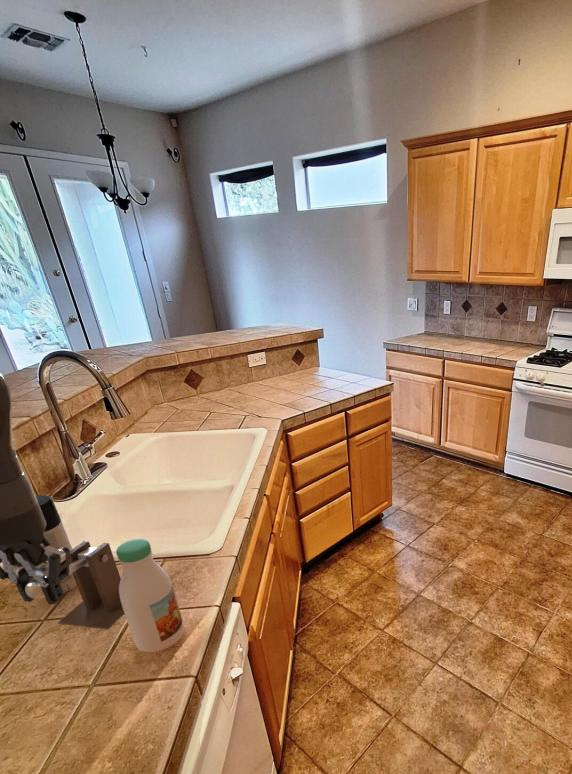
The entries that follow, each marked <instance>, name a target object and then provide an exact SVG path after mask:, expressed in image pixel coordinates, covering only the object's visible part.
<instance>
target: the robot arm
mask: <svg viewBox="0 0 572 774" xmlns="http://www.w3.org/2000/svg"><path fill="white" fill-rule="evenodd" d="M17 453H18V452H16V449H15V445H14V437H13V426H12V394H11V389H10V386H9V385H8V382H7V381H6V379H5V377H4V376H3V375H2V374H1V373H0V564H2V567H1V565H0V580H1V581H5V580H6V579H8V581H9V582H10V583H11V584H13V585H15V586H16V588H17V590H18V592H19V595H20V596H21V598H22V600H23V601H24V602H27V603H30V602H33V601H34V600H35V599H33V598H31V597H29V596H28V595H27V594H26V592H25V586H26V584H27V583H28V581H29V580H31V579H32V578H34V577H35V578H36V579H37V581H38V582H39V584H40V585H41V586H42V587H41V588H42V591H43V593H44V595H45V598H44V599H45V600H46V603H47V604H48V605H52V606H53V605H56V604H57V603H59V602H60V601H61V600H62V599H63V598H64V596H65V592H63V590H62V588H61V585H60V583H59V582H60V581H61V580H63V579H64V578H65V577H67V576H68V575H69V559H70V550H69V549H68V548H67V547H62V548H61V549H57V548H54V547H51V545H50V542H49V541H48V540H47V539H46V538H45V536H44V530H45V528H46V521H45V518H44V516H43V513H42V511H41V508H40V506H39V503H38V501H37V498H36V496H37V495H36V493H35V491H34V489H33V486H32V483H31V481H30V480H29V479H28V477H27V475H26V474H25V471H24V469H23V467H22V464H21V461H20V459H19V456H18V454H17ZM42 562H43V564H41V563H42ZM39 564H41V565H40V566H39V567H37V568H35V567H36V566H38V565H39ZM46 570H47V572H48V573H49V576H47V577H45V575H44V574H43V573H44V571H46Z"/></svg>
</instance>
